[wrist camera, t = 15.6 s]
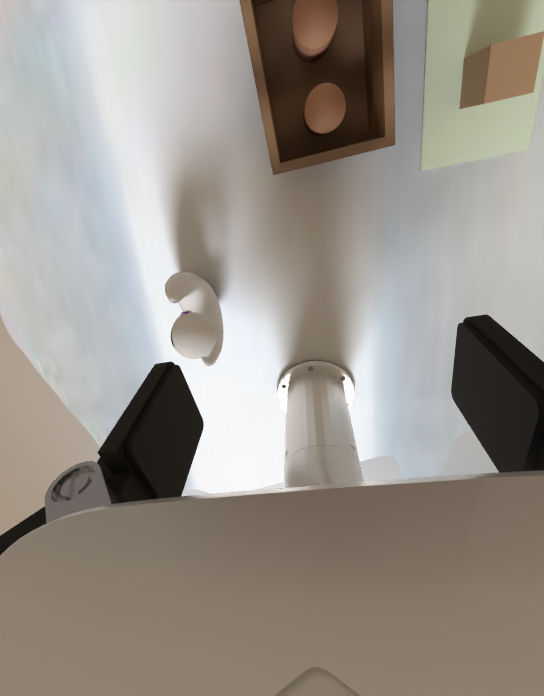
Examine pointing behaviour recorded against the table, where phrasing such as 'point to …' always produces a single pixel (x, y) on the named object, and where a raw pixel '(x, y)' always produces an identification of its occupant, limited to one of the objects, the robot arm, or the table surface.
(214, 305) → the toy
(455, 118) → the lid
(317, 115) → the box
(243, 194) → the table surface
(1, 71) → the table surface
